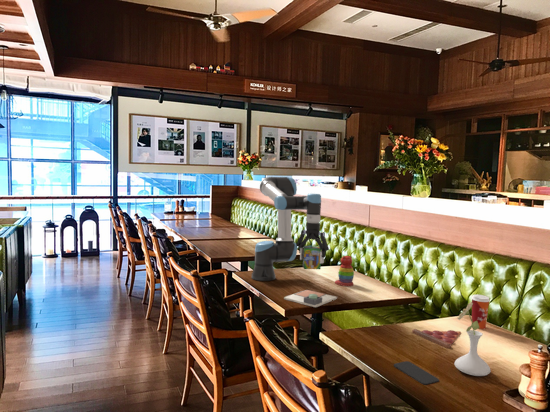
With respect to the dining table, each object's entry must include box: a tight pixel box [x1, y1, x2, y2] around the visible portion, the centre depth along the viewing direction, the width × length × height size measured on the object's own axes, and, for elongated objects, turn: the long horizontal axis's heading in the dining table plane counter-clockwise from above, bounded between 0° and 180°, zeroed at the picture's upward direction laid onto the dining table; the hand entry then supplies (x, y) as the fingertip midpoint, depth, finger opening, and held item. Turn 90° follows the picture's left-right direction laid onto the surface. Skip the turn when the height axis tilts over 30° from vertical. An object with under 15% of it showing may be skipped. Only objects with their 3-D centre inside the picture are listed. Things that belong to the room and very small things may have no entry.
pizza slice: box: [411, 328, 462, 349], centre depth 177 cm, size 18×2×20 cm
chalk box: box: [302, 240, 322, 270], centre depth 228 cm, size 9×9×15 cm
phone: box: [393, 360, 440, 386], centre depth 142 cm, size 7×1×15 cm
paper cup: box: [470, 294, 491, 330], centre depth 189 cm, size 8×8×14 cm
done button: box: [309, 294, 317, 300], centre depth 215 cm, size 4×4×2 cm
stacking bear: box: [334, 255, 355, 287], centre depth 257 cm, size 11×10×18 cm
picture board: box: [283, 289, 338, 308], centre depth 224 cm, size 20×21×4 cm
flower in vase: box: [454, 301, 492, 377], centre depth 144 cm, size 13×11×25 cm
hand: (311, 261), depth 228 cm, fingers closed on chalk box, 12 cm apart
